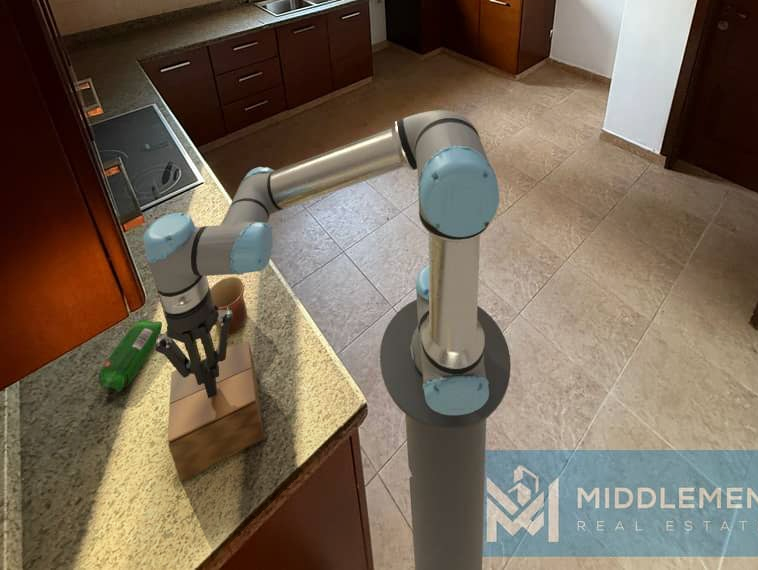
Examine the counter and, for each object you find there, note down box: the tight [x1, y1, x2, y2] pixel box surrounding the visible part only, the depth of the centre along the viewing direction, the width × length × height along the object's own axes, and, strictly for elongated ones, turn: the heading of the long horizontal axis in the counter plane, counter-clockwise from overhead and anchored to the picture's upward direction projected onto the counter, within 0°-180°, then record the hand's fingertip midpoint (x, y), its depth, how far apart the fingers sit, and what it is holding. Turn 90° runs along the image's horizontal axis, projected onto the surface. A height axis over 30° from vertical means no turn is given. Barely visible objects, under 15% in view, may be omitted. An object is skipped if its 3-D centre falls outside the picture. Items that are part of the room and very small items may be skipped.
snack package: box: [98, 317, 163, 392], centre depth 100 cm, size 7×16×5 cm, turn 173°
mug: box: [210, 276, 248, 335], centre depth 105 cm, size 12×9×10 cm
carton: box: [167, 339, 265, 482], centre depth 85 cm, size 15×13×11 cm
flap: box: [167, 368, 256, 443], centre depth 81 cm, size 15×6×1 cm, turn 115°
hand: (212, 389), depth 82 cm, fingers closed
